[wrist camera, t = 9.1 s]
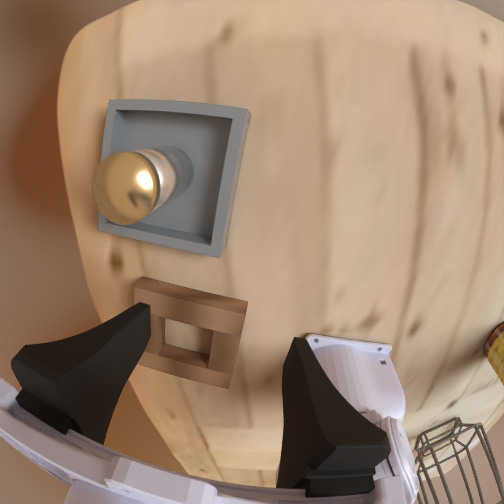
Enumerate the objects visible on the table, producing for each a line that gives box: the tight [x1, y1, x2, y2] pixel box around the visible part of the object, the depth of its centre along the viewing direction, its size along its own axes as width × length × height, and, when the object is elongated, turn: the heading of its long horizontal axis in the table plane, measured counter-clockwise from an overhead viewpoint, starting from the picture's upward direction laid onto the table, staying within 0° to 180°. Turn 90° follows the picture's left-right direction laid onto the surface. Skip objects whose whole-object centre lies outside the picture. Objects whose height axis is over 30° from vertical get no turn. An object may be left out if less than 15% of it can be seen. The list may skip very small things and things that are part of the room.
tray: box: [98, 99, 251, 258], centre depth 19 cm, size 11×11×2 cm
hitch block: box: [133, 277, 248, 389], centre depth 25 cm, size 10×10×2 cm
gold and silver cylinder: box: [92, 146, 194, 225], centre depth 16 cm, size 4×4×7 cm
